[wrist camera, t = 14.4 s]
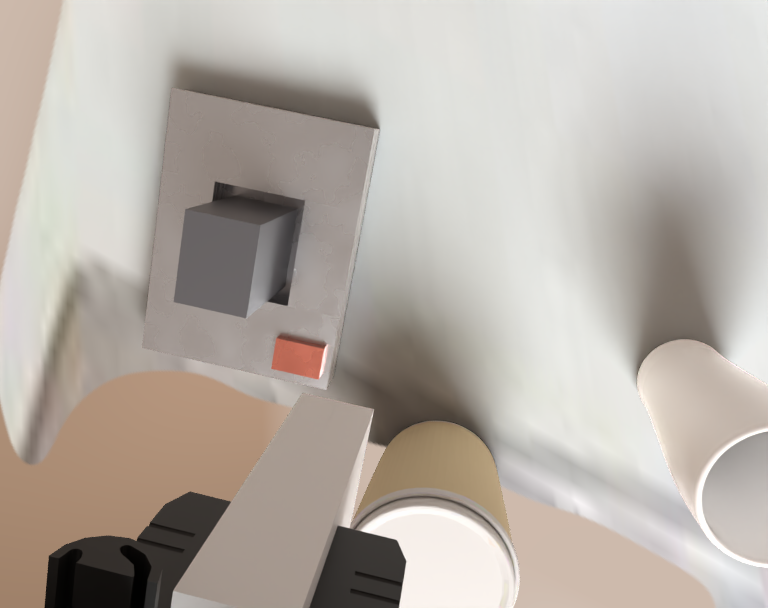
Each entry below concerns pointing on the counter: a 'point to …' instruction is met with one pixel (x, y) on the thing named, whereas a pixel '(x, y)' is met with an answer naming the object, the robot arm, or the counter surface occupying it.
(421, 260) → the counter surface
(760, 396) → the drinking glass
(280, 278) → the plug
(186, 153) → the socket plate
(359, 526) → the coffee cup
